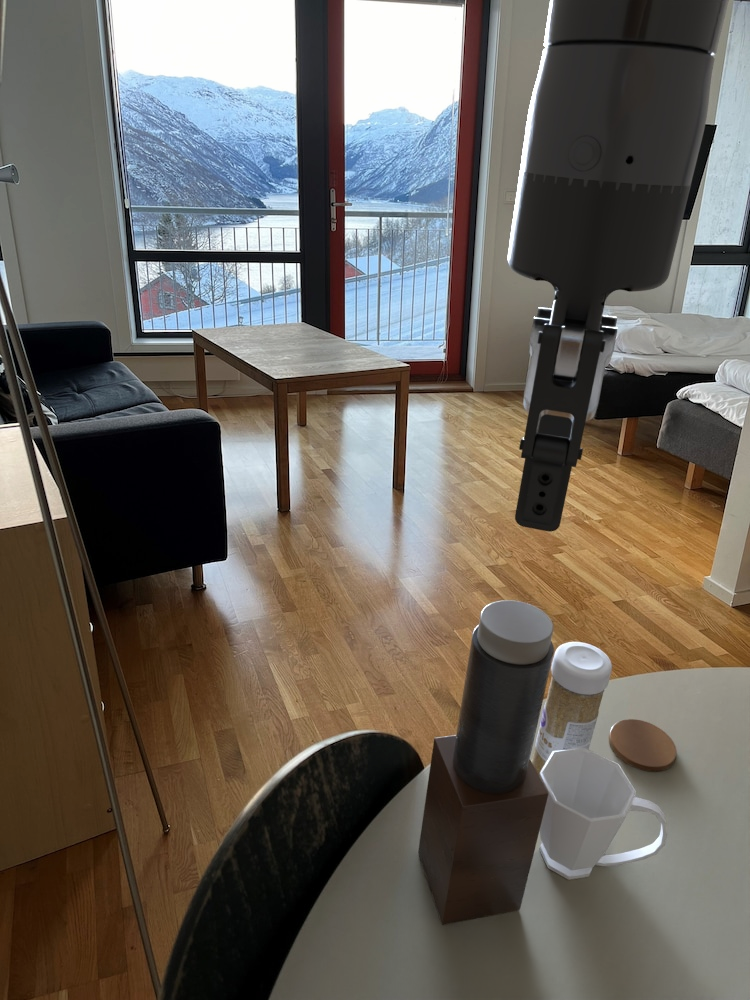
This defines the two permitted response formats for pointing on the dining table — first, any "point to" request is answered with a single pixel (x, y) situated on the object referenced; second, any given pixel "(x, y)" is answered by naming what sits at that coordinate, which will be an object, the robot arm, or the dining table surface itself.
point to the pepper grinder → (503, 695)
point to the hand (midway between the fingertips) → (543, 491)
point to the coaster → (642, 745)
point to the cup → (588, 813)
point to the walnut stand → (477, 840)
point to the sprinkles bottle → (572, 700)
